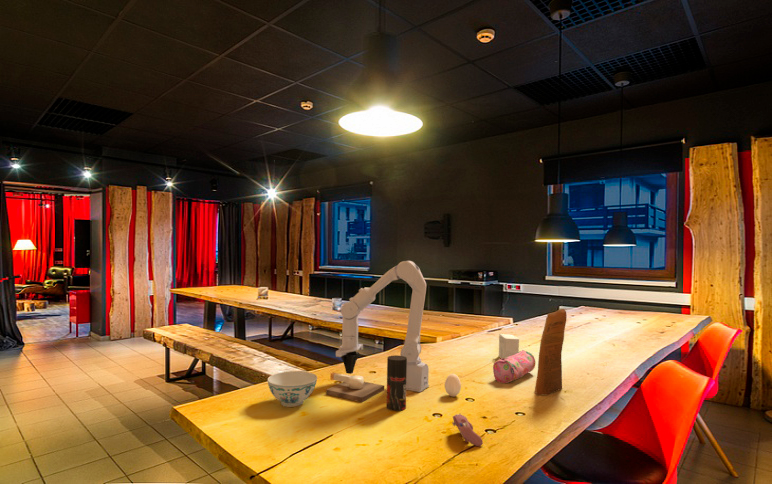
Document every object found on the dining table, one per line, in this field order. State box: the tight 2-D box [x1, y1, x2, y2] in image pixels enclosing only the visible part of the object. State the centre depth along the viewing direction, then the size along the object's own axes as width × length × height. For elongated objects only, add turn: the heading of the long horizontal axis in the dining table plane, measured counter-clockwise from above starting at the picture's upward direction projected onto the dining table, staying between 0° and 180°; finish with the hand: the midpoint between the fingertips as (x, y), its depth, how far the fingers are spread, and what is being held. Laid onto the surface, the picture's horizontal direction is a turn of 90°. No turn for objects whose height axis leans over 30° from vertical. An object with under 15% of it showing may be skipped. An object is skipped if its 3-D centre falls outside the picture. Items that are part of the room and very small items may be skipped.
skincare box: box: [498, 333, 520, 359], centre depth 192 cm, size 10×6×10 cm, turn 179°
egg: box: [444, 373, 462, 397], centre depth 142 cm, size 5×5×7 cm
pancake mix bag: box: [534, 308, 567, 396], centre depth 150 cm, size 7×19×28 cm, turn 133°
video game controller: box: [451, 413, 484, 447], centre depth 110 cm, size 10×5×7 cm, turn 5°
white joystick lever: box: [330, 372, 365, 389], centre depth 146 cm, size 12×5×3 cm, turn 61°
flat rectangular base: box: [325, 381, 385, 403], centre depth 144 cm, size 14×14×2 cm
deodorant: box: [386, 355, 407, 412], centre depth 131 cm, size 6×6×15 cm
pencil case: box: [492, 349, 536, 384], centre depth 165 cm, size 21×9×9 cm, turn 138°
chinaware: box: [267, 370, 318, 408], centre depth 133 cm, size 15×15×8 cm
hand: (349, 373), depth 155 cm, fingers closed
